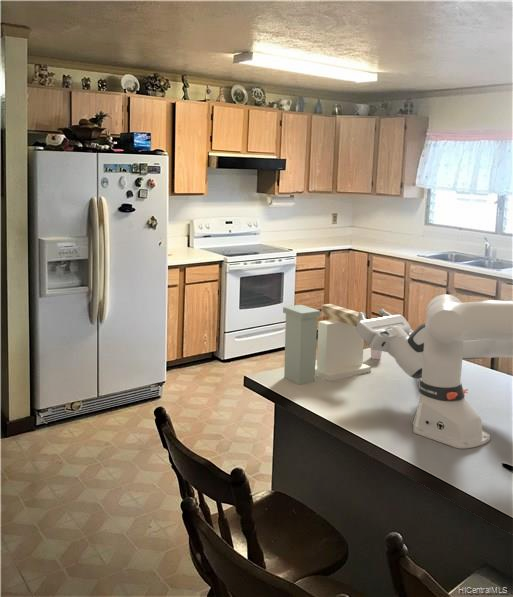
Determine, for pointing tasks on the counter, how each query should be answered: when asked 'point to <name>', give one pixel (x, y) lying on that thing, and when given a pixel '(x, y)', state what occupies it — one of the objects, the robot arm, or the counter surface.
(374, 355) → the smoothie
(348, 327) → the white slab on base
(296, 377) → the tall grey square pillar
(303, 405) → the counter surface
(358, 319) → the rod
